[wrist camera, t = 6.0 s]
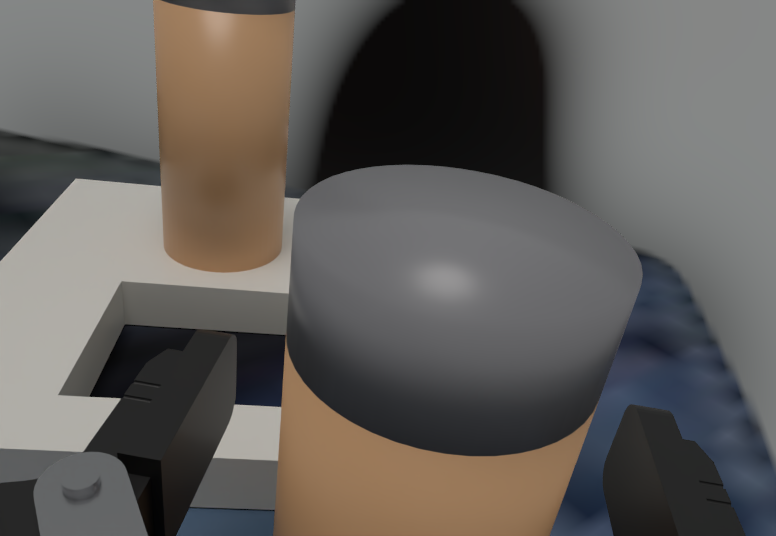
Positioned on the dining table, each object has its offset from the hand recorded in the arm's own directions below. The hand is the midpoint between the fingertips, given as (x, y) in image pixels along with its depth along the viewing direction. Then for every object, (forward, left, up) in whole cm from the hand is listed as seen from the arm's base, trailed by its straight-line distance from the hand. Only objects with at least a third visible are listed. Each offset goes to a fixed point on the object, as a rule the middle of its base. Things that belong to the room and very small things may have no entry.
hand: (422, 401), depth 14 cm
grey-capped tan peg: (0, -2, -7) cm, 7 cm away
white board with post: (-6, +12, -7) cm, 15 cm away
